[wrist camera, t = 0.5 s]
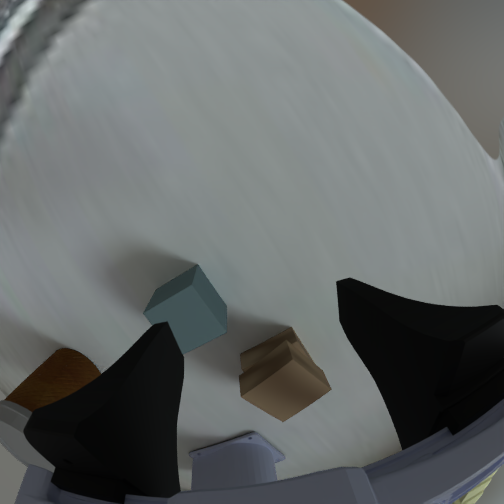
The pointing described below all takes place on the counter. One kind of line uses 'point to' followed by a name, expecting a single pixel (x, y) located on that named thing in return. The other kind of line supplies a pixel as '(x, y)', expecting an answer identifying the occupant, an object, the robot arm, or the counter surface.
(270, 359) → the top slab
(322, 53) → the counter surface
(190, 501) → the robot arm
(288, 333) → the bottom slab
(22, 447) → the disposable coffee cup
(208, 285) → the cube
